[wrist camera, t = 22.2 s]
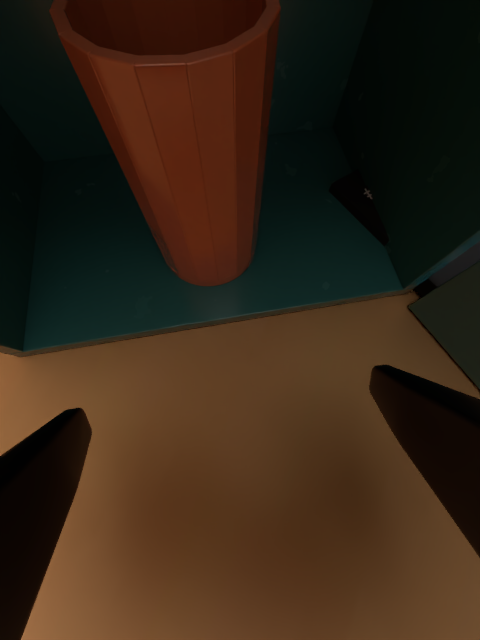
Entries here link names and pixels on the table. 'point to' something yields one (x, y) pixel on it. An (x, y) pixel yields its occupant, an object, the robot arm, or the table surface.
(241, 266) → the clay cup
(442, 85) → the teal storage box
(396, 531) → the table surface
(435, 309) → the door
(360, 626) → the table surface
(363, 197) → the remote control
